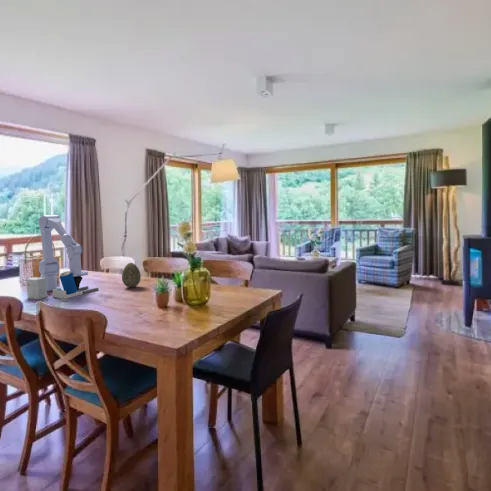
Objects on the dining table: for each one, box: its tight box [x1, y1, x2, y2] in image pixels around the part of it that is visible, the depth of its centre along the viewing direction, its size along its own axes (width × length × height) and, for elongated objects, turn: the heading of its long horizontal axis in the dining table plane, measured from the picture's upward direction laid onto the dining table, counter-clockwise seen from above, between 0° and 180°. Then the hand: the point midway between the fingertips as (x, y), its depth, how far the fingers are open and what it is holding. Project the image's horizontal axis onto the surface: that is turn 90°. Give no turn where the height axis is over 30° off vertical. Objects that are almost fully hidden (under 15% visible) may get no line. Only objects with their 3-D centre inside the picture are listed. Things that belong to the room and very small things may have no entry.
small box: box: [25, 276, 48, 300], centre depth 197 cm, size 8×6×10 cm
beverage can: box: [59, 270, 78, 295], centre depth 202 cm, size 6×6×12 cm
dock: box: [52, 285, 99, 300], centre depth 206 cm, size 10×22×5 cm, turn 152°
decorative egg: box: [121, 262, 142, 289], centre depth 220 cm, size 11×11×15 cm
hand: (76, 289), depth 207 cm, fingers closed
